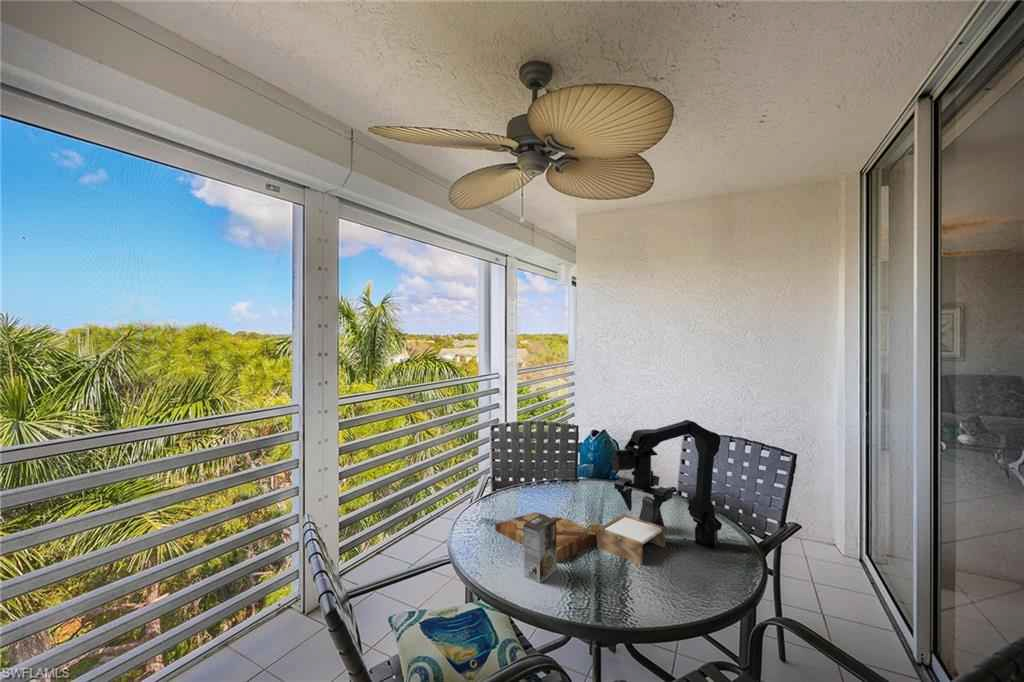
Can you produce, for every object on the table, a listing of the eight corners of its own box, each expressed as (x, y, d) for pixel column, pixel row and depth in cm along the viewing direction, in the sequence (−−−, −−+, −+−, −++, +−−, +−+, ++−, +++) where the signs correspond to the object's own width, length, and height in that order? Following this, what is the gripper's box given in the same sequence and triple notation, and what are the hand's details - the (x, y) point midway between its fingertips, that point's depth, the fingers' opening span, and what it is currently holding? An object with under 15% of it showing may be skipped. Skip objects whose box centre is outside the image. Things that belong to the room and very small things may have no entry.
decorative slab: (598, 545, 153) (598, 531, 153) (553, 565, 139) (553, 550, 139) (537, 516, 178) (537, 504, 178) (494, 531, 165) (494, 517, 165)
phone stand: (653, 524, 169) (653, 493, 169) (665, 530, 163) (665, 499, 163) (636, 529, 165) (636, 497, 165) (647, 536, 159) (647, 503, 159)
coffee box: (540, 564, 140) (540, 514, 139) (557, 571, 135) (557, 519, 135) (522, 576, 133) (522, 523, 132) (540, 584, 128) (540, 529, 128)
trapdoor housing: (665, 545, 152) (665, 527, 152) (640, 565, 139) (640, 544, 139) (623, 531, 163) (623, 514, 163) (597, 547, 150) (597, 529, 150)
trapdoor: (661, 536, 151) (661, 528, 151) (641, 550, 141) (641, 542, 141) (625, 524, 160) (625, 516, 160) (604, 537, 150) (604, 528, 150)
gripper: (679, 469, 147) (679, 515, 147) (629, 458, 160) (629, 500, 160) (664, 476, 139) (664, 525, 139) (613, 464, 152) (613, 509, 152)
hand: (642, 514), depth 148 cm, fingers open, 9 cm apart
